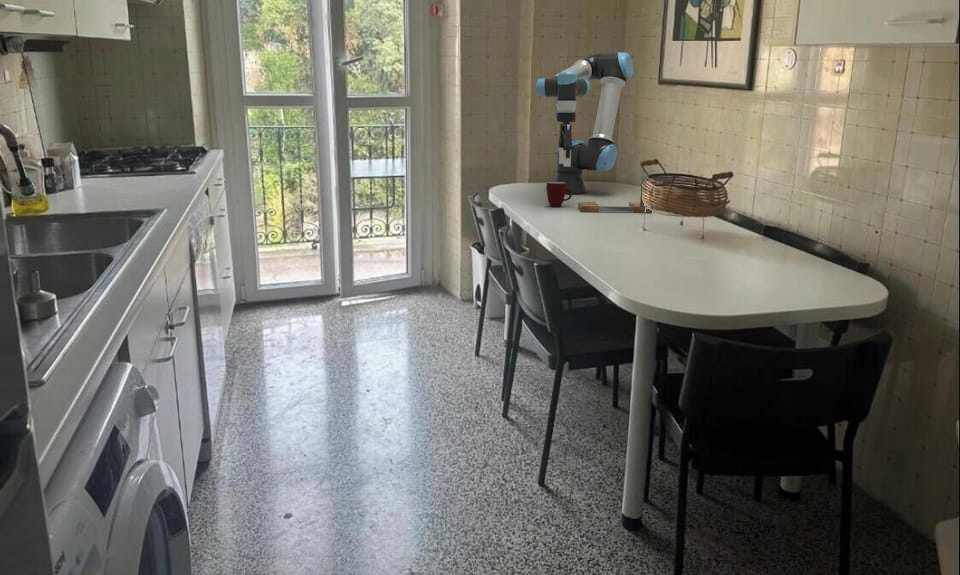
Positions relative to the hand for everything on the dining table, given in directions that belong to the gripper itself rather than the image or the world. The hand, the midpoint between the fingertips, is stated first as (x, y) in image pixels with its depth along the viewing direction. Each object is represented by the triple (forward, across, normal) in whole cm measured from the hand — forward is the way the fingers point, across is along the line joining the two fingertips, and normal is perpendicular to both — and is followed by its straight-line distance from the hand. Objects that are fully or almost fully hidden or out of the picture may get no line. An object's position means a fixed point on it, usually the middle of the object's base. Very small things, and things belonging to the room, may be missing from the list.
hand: (564, 165), depth 296 cm
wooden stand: (+17, +10, +19) cm, 28 cm away
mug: (+18, -1, -2) cm, 18 cm away
